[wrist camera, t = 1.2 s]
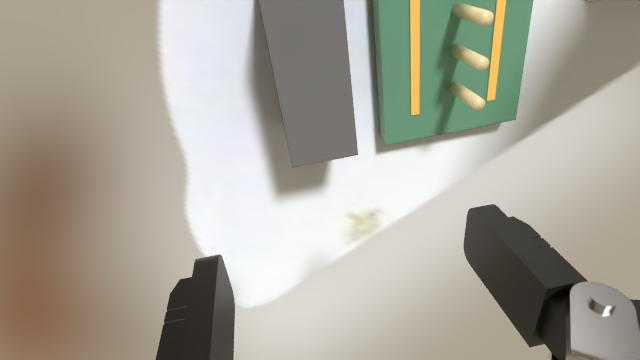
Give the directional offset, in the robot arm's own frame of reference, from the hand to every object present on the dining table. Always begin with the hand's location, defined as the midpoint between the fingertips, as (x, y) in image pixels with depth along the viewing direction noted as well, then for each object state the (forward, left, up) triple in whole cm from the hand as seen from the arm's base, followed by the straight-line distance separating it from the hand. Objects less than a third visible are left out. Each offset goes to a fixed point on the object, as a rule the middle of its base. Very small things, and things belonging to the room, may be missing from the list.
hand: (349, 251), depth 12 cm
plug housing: (-2, +1, -17) cm, 17 cm away
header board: (-1, +11, -17) cm, 20 cm away
